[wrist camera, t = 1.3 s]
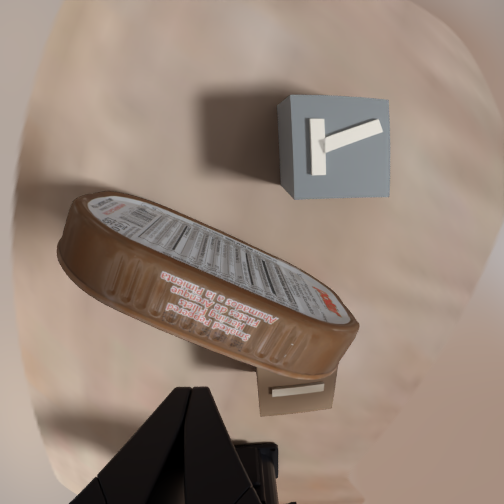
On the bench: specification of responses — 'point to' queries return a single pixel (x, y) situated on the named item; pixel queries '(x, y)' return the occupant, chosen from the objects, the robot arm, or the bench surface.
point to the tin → (204, 286)
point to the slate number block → (334, 146)
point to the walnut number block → (293, 393)
